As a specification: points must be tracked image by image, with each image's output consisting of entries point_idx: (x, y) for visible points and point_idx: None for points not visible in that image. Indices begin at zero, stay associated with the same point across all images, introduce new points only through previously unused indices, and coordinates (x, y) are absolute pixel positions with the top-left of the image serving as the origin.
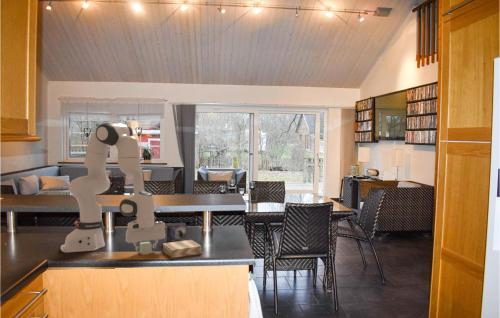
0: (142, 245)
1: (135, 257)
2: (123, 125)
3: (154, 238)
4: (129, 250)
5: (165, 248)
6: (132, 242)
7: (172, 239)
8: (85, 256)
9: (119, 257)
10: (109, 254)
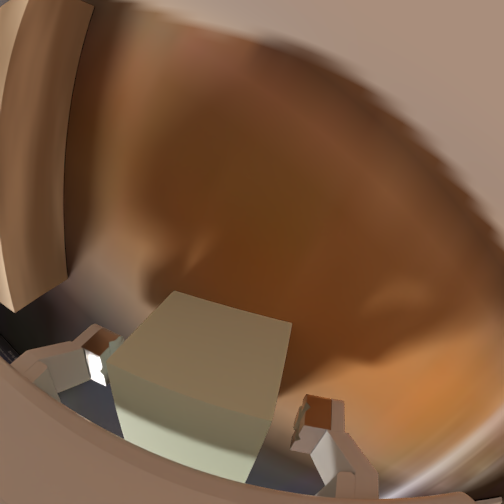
0: (268, 414)
1: (423, 274)
2: None
3: (22, 399)
4: (311, 463)
5: (28, 215)
6: (422, 499)
7: None
8: None
9: (498, 368)
10: (464, 450)
